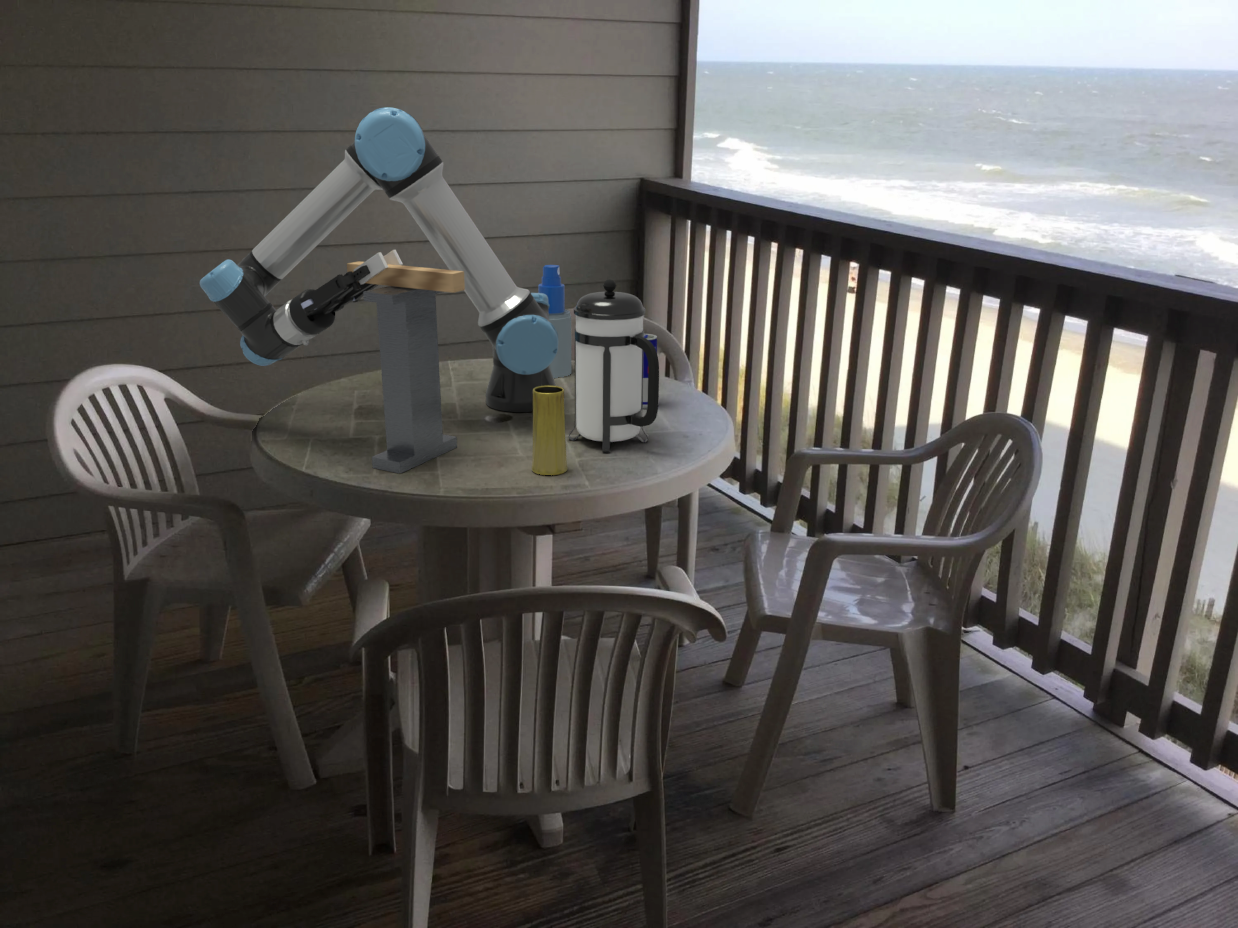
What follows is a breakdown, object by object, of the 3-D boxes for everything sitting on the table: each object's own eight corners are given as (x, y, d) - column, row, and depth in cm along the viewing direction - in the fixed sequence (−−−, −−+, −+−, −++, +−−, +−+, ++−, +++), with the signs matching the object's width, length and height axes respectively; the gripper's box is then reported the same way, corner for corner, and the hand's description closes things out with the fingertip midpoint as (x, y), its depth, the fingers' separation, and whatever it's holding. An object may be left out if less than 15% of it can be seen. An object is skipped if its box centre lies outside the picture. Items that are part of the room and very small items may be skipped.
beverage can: (653, 410, 204) (655, 338, 199) (629, 408, 205) (630, 337, 200) (657, 403, 209) (659, 333, 204) (633, 402, 210) (634, 332, 205)
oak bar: (348, 281, 169) (346, 263, 168) (360, 279, 171) (358, 261, 170) (453, 292, 159) (452, 274, 158) (464, 290, 162) (464, 271, 161)
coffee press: (560, 453, 178) (558, 285, 168) (576, 426, 193) (575, 271, 183) (656, 458, 176) (660, 289, 166) (665, 431, 191) (669, 274, 181)
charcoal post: (372, 467, 170) (358, 292, 160) (430, 442, 183) (421, 279, 173) (400, 473, 167) (388, 296, 157) (457, 447, 181) (449, 282, 171)
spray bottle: (577, 370, 235) (576, 264, 226) (563, 379, 227) (562, 269, 218) (542, 367, 237) (540, 261, 229) (527, 376, 229) (524, 267, 221)
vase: (531, 464, 172) (530, 384, 168) (566, 463, 173) (566, 384, 168) (531, 476, 167) (530, 394, 162) (568, 475, 167) (567, 394, 162)
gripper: (346, 327, 185) (430, 272, 172) (281, 344, 171) (368, 286, 158) (327, 290, 184) (411, 233, 171) (261, 304, 171) (346, 243, 158)
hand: (390, 258), depth 165 cm, fingers closed on oak bar, 3 cm apart
